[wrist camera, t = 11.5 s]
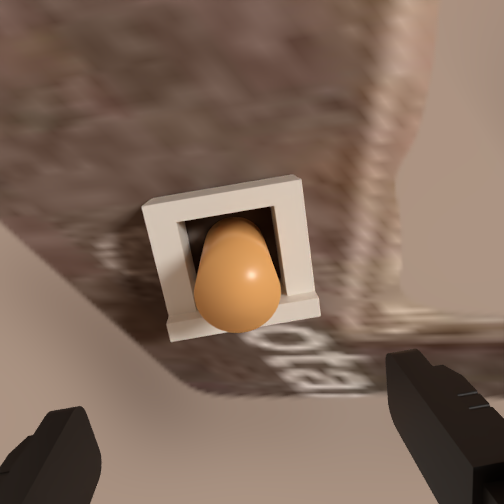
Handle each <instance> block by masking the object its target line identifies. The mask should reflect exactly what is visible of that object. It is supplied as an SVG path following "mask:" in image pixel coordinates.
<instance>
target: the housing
mask: <svg viewBox="0 0 504 504" xmlns="http://www.w3.org/2000/svg"><path fill="white" fill-rule="evenodd" d="M269 206H270V207H271V214H272V221H273V228H274V234H275V241H276V248H277V255H278V261H279V268H280V275H281V278H280V279H279V282H280V288H281V297H280V302H279V305H278V307H277V309H276V311H275V313H274V314H273V316H272V317H271V318H270V319H269V320H268V321H267V322H266V323H265V324H263V325H262V326H266V325H272V324H278V323H284V322H289V321H295V320H301V319H307V318H313V317H318V316H321V313H320V305H319V297H318V296H317V294H316V292H315V287H314V279H313V271H312V263H311V254H310V246H309V238H308V230H307V221H306V213H305V205H304V197H303V189H302V180H301V179H300V178H298V177H297V176H295V175H293V174H292V175H286V176H280V177H274V178H268V179H262V180H256V181H251V182H245V183H239V184H233V185H227V186H221V187H215V188H209V189H203V190H198V191H192V192H186V193H180V194H174V195H168V196H162V197H156V198H152V199H150V200H149V201H148V202H146V203H145V204H144V205H143V206H141V207H142V211H143V215H144V219H145V223H146V227H147V231H148V235H149V239H150V243H151V247H152V251H153V255H154V259H155V263H156V267H157V271H158V275H159V279H160V283H161V287H162V291H163V295H164V299H165V303H166V307H167V311H168V315H169V317H168V320H167V323H166V325H167V329H168V333H169V337H170V341H171V342H174V341H180V340H185V339H191V338H197V337H203V336H208V335H214V334H220V333H226V331H222V330H220V329H217V328H215V327H214V326H212V325H211V324H209V323H208V322H207V321H206V320H205V319H204V318H203V317H202V316H201V314H200V313H199V311H198V309H197V307H196V303H195V299H194V287H195V282H196V278H197V276H196V271H195V267H194V262H193V258H192V253H191V248H190V244H189V239H188V235H187V230H186V226H185V221H187V220H193V219H199V218H204V217H210V216H216V215H222V214H228V213H234V212H240V211H245V210H251V209H257V208H263V207H269ZM260 327H261V326H260Z"/></svg>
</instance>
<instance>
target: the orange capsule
mask: <svg viewBox="0 0 504 504" xmlns="http://www.w3.org/2000/svg"><path fill="white" fill-rule="evenodd" d="M280 297H281V288H280V282H279V279H278V276H277V274H276V271H275V268H274V265H273V262H272V259H271V257H270V254H269V251H268V248H267V245H266V243H265V240H264V237H263V234H262V232H261V231H260V229H259V228H258V227H257V226H256V225H255V224H254V223H253V222H251V221H250V220H248V219H245V218H242V217H228V218H224V219H222V220H220V221H218V222H217V223H215V224H214V225H213V226H212V227H211V228H210V230H209V231H208V233H207V235H206V238H205V242H204V247H203V251H202V256H201V260H200V264H199V269H198V273H197V278H196V282H195V287H194V299H195V303H196V307H197V309H198V311H199V313H200V314H201V316H202V317H203V318H204V319H205V320H206V321H207V322H208V323H209V324H211V325H212V326H214V327H215V328H217V329H220V330H222V331H226V332H232V333H242V332H248V331H251V330H254V329H256V328H258V327H260V326H262V325H263V324H265V323H266V322H267V321H268V320H269V319H270V318H271V317H272V316H273V314H274V313H275V311H276V309H277V307H278V305H279V302H280Z"/></svg>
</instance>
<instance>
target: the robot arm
mask: <svg viewBox="0 0 504 504" xmlns="http://www.w3.org/2000/svg"><path fill="white" fill-rule="evenodd" d="M386 376H387V393H388V405H389V410H390V414H391V417H392V420H393V422H394V425H395V427H396V429H397V431H398V432H399V434H400V436H401V438H402V439H403V441H404V443H405V445H406V447H407V448H408V450H409V452H410V454H411V455H412V457H413V459H414V461H415V463H416V464H417V466H418V468H419V470H420V471H421V473H422V475H423V477H424V478H425V480H426V482H427V484H428V486H429V487H430V489H431V491H432V493H433V494H434V496H435V498H436V500H437V502H438V503H439V504H504V418H503V417H502V416H501V415H500V414H499V413H498V412H497V411H496V410H495V409H494V408H493V407H490V405H489V403H488V402H487V401H486V400H485V399H484V398H483V396H482V395H481V394H478V393H477V390H476V389H475V388H474V387H473V386H472V385H471V384H470V383H469V382H468V381H467V380H466V379H465V378H464V377H463V376H462V375H460V374H459V373H457V372H455V371H453V370H451V369H450V368H448V367H446V366H444V365H438V366H432V365H431V364H430V363H429V361H428V360H427V359H426V358H425V357H424V356H423V355H422V353H421V352H420V351H419V350H417V349H410V350H405V351H399V352H393V353H388V354H387V355H386ZM100 473H101V453H100V450H99V447H98V444H97V442H96V439H95V436H94V433H93V430H92V428H91V425H90V422H89V419H88V417H87V414H86V412H85V410H84V408H83V407H81V406H78V407H72V408H66V409H60V410H55V411H50V412H49V413H48V414H47V415H46V416H45V417H44V419H43V421H42V422H41V424H40V425H39V427H38V428H37V430H36V431H35V433H34V434H33V435H31V436H28V437H27V438H26V439H25V440H24V441H22V442H21V443H20V444H19V445H18V446H17V447H16V448H15V449H14V450H13V451H12V452H11V453H9V455H8V456H7V457H6V459H5V460H4V462H3V463H2V465H1V466H0V504H90V502H91V499H92V497H93V494H94V491H95V488H96V486H97V483H98V481H99V477H100Z"/></svg>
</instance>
